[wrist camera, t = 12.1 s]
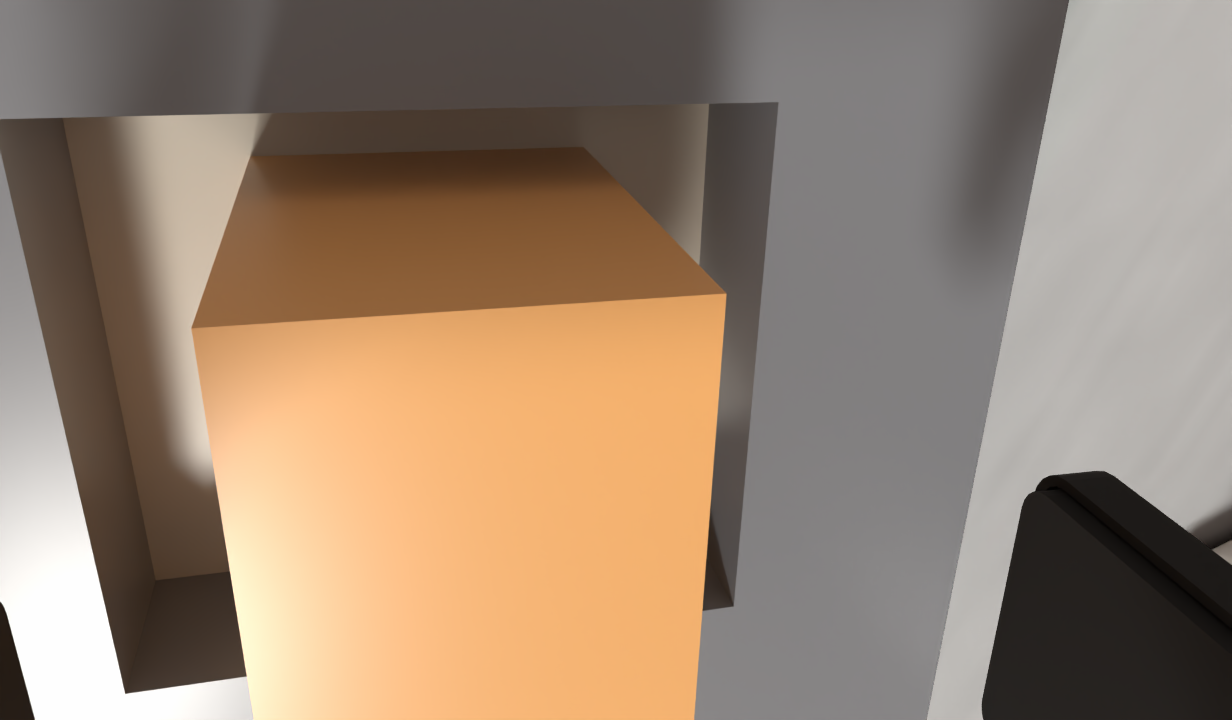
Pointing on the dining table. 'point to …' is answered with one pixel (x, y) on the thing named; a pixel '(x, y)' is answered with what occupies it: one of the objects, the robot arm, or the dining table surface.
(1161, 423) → the dining table surface
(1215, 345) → the dining table surface
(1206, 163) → the dining table surface
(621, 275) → the plug
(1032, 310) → the dining table surface
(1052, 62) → the socket plate
